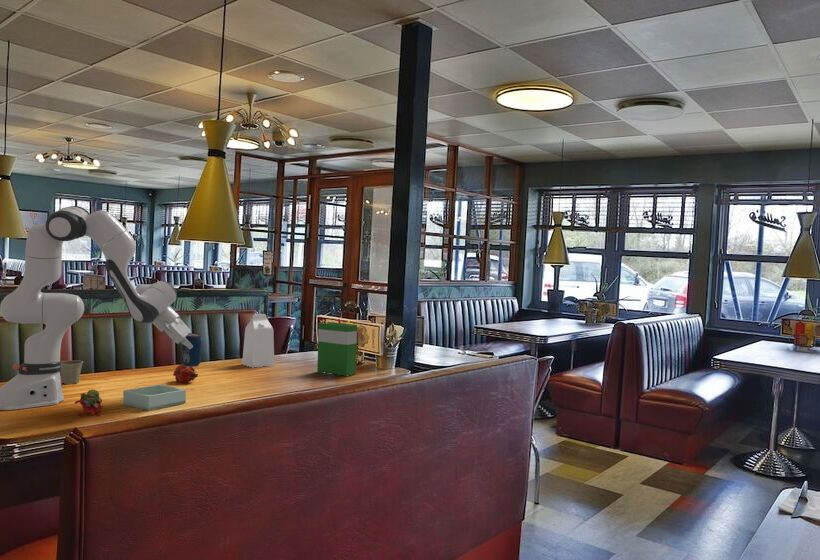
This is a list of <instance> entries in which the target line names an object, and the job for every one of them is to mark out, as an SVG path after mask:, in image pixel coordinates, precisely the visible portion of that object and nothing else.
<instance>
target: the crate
mask: <svg viewBox="0 0 820 560" xmlns="http://www.w3.org/2000/svg"><path fill="white" fill-rule="evenodd" d="M122 395H123V398H122V400H123V402H122V405H124V404H125V406H128V407H132V406H133V408H137V409H140V408H141V409H140V410H143V409H145V410H144V411H147V410H150V411H154V410H153V409H155V410H159V409H158V408H160V409H165V408H169V407H168V406H170V407H174V406H173V405H175V406H179V405H178V404H180V405H184V403H185V404H186V402H187V401H186V399H187V397H186V396H187V390H186V389H184V388H179V387H175V386H170V385H165V384H160V383H159V384H155V385H150V386H142V387H137V388H136V387H135V388H131V389H124V390H123V394H122ZM164 407H165V408H164Z"/></svg>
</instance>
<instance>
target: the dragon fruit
mask: <svg viewBox="0 0 820 560" xmlns="http://www.w3.org/2000/svg"><path fill="white" fill-rule="evenodd" d="M172 376H173V377H175V378H174V379H175V381H176V383H177V382H181V383H183V384H189V382H188V381H190V382H193V381H194V380H195V378H198V376H199V374H198V373H197V371H196V370H195V368H194V367H186V366H183V364H182V363H181V364H179V365H178V366H176V368H175V370H173V374H172Z"/></svg>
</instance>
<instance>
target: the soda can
mask: <svg viewBox="0 0 820 560" xmlns="http://www.w3.org/2000/svg"><path fill="white" fill-rule="evenodd" d="M185 338H186V339H187V340H188V341H189V342H190V343H192V344H193V348H191V349H189V348H188V347H187V346H185V345H184V344H182V349H181V364H183V366H186V367H192V368H196V367H199V365H200V364H201V358H202V344H203V343H202V342H203V339H202V335H201V334H200V333H192V332H190V333H189V334H188V335H187V336H186V337H185Z"/></svg>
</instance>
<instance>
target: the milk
mask: <svg viewBox="0 0 820 560" xmlns="http://www.w3.org/2000/svg"><path fill="white" fill-rule="evenodd" d="M274 331H275V330H274V328H273V326H272V325H271V323H270V321H269V319H268V317H267V315H266V314H265V313H257V314H256V313H255V314H253V315H252V318H251V320H250V321H249V322H248V324H247V325H246V327H245V330H244V339H243V348H242V349H243V351H242V363H241V365H242V364H243V366H245V365H246V366H245V367H248V366H249V368H251V367H252V369H254V368H253V367H257V368H264V367H263V366H268V367H274V366H275V342H274V341H275V339H274V337H275V336H274V335H275V334H274Z"/></svg>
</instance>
